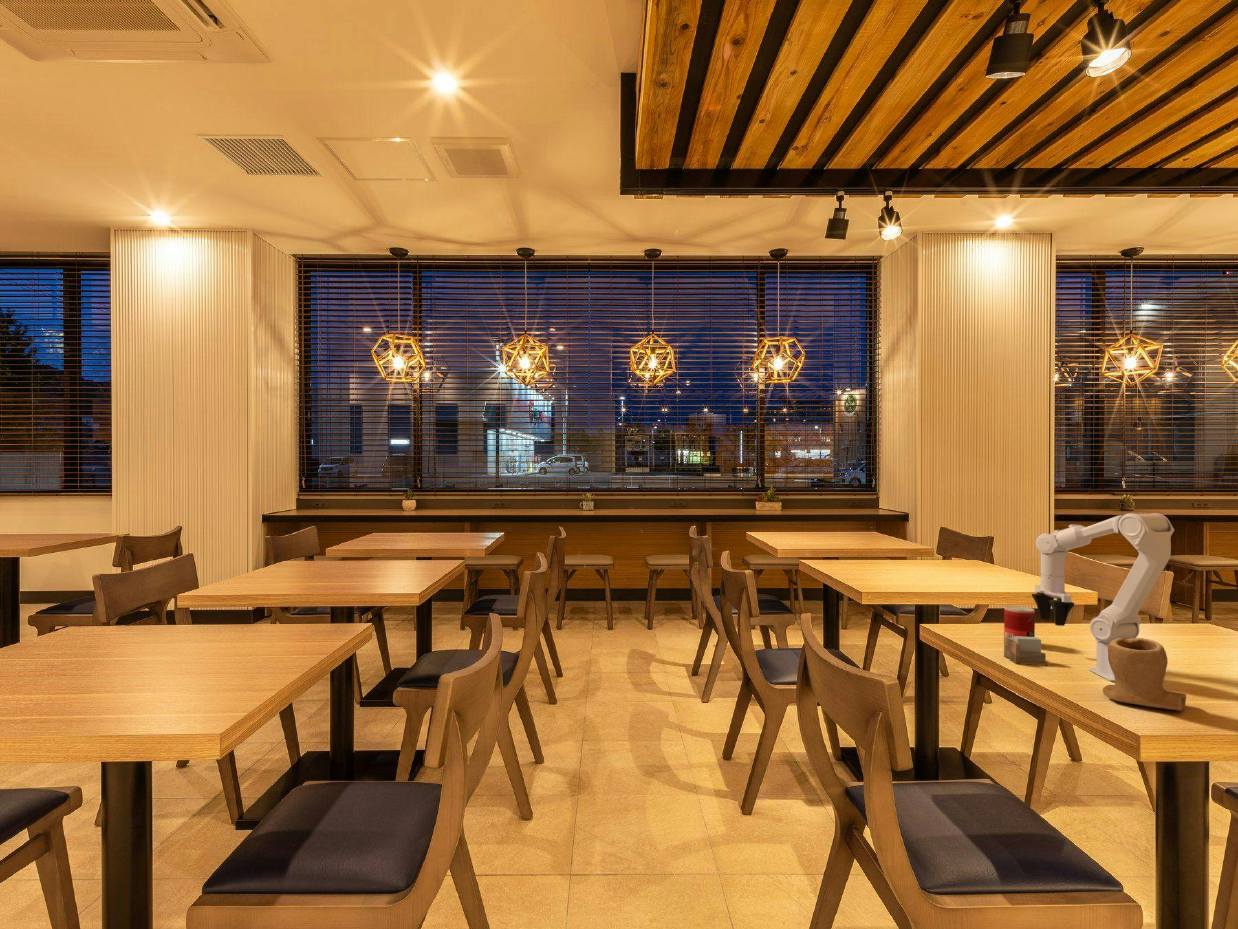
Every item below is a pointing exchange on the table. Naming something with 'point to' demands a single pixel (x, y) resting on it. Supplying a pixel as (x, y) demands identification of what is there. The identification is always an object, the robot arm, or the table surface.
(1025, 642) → the grey square block
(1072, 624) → the table surface
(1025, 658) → the grey stepped holder
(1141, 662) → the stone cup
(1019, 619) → the canned food
